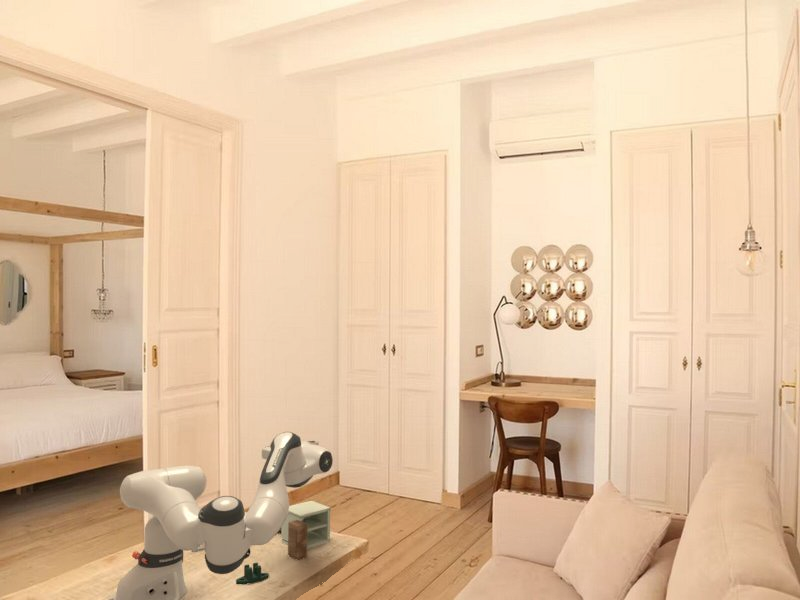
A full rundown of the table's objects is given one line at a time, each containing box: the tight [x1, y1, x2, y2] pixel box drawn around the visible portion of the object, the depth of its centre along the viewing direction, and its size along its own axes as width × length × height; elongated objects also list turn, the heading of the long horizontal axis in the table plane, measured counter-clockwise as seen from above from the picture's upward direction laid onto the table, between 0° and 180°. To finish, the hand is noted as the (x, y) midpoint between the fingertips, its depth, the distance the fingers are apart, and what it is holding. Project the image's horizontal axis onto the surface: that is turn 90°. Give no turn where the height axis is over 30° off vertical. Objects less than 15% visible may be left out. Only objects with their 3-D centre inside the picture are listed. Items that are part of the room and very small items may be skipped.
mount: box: [235, 562, 270, 585], centre depth 212 cm, size 11×4×5 cm, turn 123°
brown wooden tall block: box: [287, 520, 308, 561], centre depth 233 cm, size 4×6×12 cm
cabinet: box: [280, 500, 331, 550], centre depth 246 cm, size 15×13×13 cm
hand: (277, 446), depth 239 cm, fingers open, 8 cm apart
